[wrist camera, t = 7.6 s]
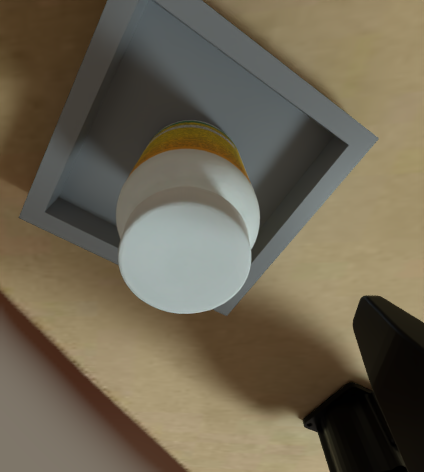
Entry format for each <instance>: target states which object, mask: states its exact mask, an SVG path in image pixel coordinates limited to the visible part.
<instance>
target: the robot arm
mask: <svg viewBox="0 0 424 472" xmlns="http://www.w3.org/2000/svg"><path fill="white" fill-rule="evenodd" d="M353 330H354V333H355V337H356V340H357V343H358V346H359V349H360V352H361V356H362V359H363V362H364V365H365V368H366V372H367V375H368V378H369V381H370V384H371V386H372V389H373V391H371V390H369V389H367V388H364V387H362V386H360V385H358V384H356V383H348V384H346V385H345V386H344V387H343V388H341V389H340V390H339V391H338V392H337V393H335V394H334V395H333V396H332V397H330V398H329V399H328V400H327V401H326V402H324V403H323V404H322V405H321V406H319V407H318V408H317V409H316V410H315V411H313V412H312V413H311V414H310V415H308V416H307V417H306V418H305V419H304V420H303V424H304V427H305V428H308V429H310V430H313V431H315V432H318V435H319V438H320V442H321V445H322V448H323V451H324V454H325V458H326V461H327V464H328V467H329V471H330V472H424V323H423V322H422V321H420V320H418V319H417V318H415V317H414V316H412V315H410V314H409V313H407V312H405V311H404V310H402V309H401V308H399V307H397V306H396V305H394V304H392V303H391V302H389V301H387V300H386V299H384V298H383V297H381V296H363V297H362V298H361V299H360V301H359V304H358V307H357V310H356V313H355V316H354V319H353Z"/></svg>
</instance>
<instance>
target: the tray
mask: <svg viewBox="0 0 424 472" xmlns="http://www.w3.org/2000/svg"><path fill="white" fill-rule="evenodd" d="M184 120H197V121H202V122H206V123H209V124H211V125H213V126H215V127H217V128H219V129H220V130H222V131H223V132H224V133H225V134H226V135H228V136H229V138H230V139H231V140H232V141H233V143H234V144H235V146H236V147H237V149H238V152H239V154H240V157H241V159H242V162H243V164H244V167H245V170H246V172H247V175H248V177H249V180H250V182H251V185H252V187H253V189H254V192H255V195H256V198H257V200H258V205H259V211H260V225H259V231H258V235H257V238H256V241H255V243H254V245H253V247H252V249H251V266H250V271H249V274H248V277H247V279H246V281H245V283H244V285H243V286H242V288H241V289H240V290H239V291H238V292H237V293H236V294H235V295H234V296H233V297H232V298H231V299H229V300H228V301H227V302H225V303H224V304H222V305H220V306H218V307H216V308H214V309H213V310H215V311H217V312H219V313H221V314H223V315H225V316H227V315H228V314H229V313H230V312H231V311H232V309H233V308H234V307H235V306H236V305H237V304H238V302H239V301H240V300H241V299H242V298H243V297H244V295H245V294H246V293H247V292H248V291H249V290H250V288H251V287H252V286H253V285H254V284H255V283H256V281H257V280H258V279H259V278H260V277H261V276H262V274H263V273H264V272H265V271H266V270H267V269H268V267H269V266H270V265H271V264H272V263H273V262H274V260H275V259H276V258H277V257H278V256H279V255H280V253H281V252H282V251H283V250H284V249H285V248H286V246H287V245H288V244H289V243H290V242H291V241H292V239H293V238H294V237H295V236H296V235H297V234H298V232H299V231H300V230H301V229H302V228H303V227H304V225H305V224H306V223H307V222H308V221H309V220H310V218H311V217H312V216H313V215H314V214H315V213H316V211H317V210H318V209H319V208H320V207H321V206H322V204H323V203H324V202H325V201H326V200H327V199H328V197H329V196H330V195H331V194H332V193H333V192H334V190H335V189H336V188H337V187H338V186H339V185H340V183H341V182H342V181H343V180H344V179H345V178H346V176H347V175H348V174H349V173H350V172H351V171H352V169H353V168H354V167H355V166H356V165H357V164H358V162H359V161H360V160H361V159H362V158H363V157H364V155H365V154H366V153H367V152H368V151H369V150H370V148H371V147H372V146H373V145H374V144H375V143H376V141H377V140H378V139H379V138H378V137H376V136H375V135H374V134H373V133H371V132H370V131H369V130H367V129H366V128H365V127H364V126H362V125H361V124H360V123H358V122H357V121H356V120H355V119H353V118H352V117H351V116H349V115H348V114H347V113H346V112H344V111H343V110H342V109H340V108H339V107H338V106H337V105H335V104H334V103H333V102H331V101H330V100H329V99H328V98H326V97H325V96H324V95H322V94H321V93H320V92H319V91H317V90H316V89H315V88H314V87H312V86H311V85H310V84H308V83H307V82H306V81H305V80H303V79H302V78H301V77H299V76H298V75H297V74H296V73H294V72H293V71H292V70H290V69H289V68H288V67H287V66H285V65H284V64H283V63H281V62H280V61H279V60H278V59H276V58H275V57H274V56H272V55H271V54H270V53H269V52H267V51H266V50H265V49H263V48H262V47H261V46H260V45H258V44H257V43H256V42H254V41H253V40H252V39H251V38H249V37H248V36H247V35H245V34H244V33H243V32H242V31H240V30H239V29H238V28H237V27H235V26H234V25H233V24H231V23H230V22H229V21H228V20H226V19H225V18H224V17H222V16H221V15H220V14H219V13H217V12H216V11H215V10H213V9H212V8H211V7H210V6H208V5H207V4H206V3H204V2H203V1H202V0H108V1H107V3H106V5H105V8H104V10H103V13H102V15H101V18H100V20H99V23H98V25H97V27H96V30H95V32H94V35H93V37H92V40H91V42H90V45H89V47H88V49H87V52H86V54H85V57H84V59H83V62H82V64H81V67H80V69H79V71H78V74H77V76H76V79H75V81H74V84H73V86H72V89H71V91H70V93H69V96H68V98H67V101H66V103H65V106H64V108H63V111H62V113H61V115H60V118H59V120H58V123H57V125H56V128H55V130H54V133H53V135H52V138H51V140H50V142H49V145H48V147H47V150H46V152H45V155H44V157H43V160H42V162H41V164H40V167H39V169H38V172H37V174H36V177H35V179H34V182H33V184H32V186H31V189H30V191H29V194H28V196H27V199H26V201H25V204H24V206H23V208H22V211H21V213H20V216H19V218H20V219H22V220H24V221H26V222H28V223H31V224H33V225H35V226H37V227H39V228H41V229H43V230H45V231H48V232H50V233H52V234H54V235H56V236H58V237H60V238H62V239H64V240H67V241H69V242H71V243H73V244H75V245H77V246H79V247H81V248H84V249H86V250H88V251H90V252H92V253H94V254H96V255H98V256H100V257H103V258H105V259H107V260H109V261H111V262H113V263H115V264H117V265H119V263H118V248H119V244H120V240H121V239H120V236H119V233H118V229H117V224H116V208H117V202H118V198H119V195H120V192H121V189H122V187H123V185H124V183H125V182H126V180H127V178H128V177H129V175H130V173H131V172H132V170H133V168H134V166H135V165H136V163H137V162H138V160H139V159H140V157H141V155H142V154H143V152H144V150H145V149H146V147H147V146H148V144H149V142H150V141H151V140H152V138H153V137H154V136H155V135H156V134H157V133H158V132H159V131H160V130H161V129H163V128H164V127H166V126H168V125H170V124H172V123H175V122H178V121H184Z"/></svg>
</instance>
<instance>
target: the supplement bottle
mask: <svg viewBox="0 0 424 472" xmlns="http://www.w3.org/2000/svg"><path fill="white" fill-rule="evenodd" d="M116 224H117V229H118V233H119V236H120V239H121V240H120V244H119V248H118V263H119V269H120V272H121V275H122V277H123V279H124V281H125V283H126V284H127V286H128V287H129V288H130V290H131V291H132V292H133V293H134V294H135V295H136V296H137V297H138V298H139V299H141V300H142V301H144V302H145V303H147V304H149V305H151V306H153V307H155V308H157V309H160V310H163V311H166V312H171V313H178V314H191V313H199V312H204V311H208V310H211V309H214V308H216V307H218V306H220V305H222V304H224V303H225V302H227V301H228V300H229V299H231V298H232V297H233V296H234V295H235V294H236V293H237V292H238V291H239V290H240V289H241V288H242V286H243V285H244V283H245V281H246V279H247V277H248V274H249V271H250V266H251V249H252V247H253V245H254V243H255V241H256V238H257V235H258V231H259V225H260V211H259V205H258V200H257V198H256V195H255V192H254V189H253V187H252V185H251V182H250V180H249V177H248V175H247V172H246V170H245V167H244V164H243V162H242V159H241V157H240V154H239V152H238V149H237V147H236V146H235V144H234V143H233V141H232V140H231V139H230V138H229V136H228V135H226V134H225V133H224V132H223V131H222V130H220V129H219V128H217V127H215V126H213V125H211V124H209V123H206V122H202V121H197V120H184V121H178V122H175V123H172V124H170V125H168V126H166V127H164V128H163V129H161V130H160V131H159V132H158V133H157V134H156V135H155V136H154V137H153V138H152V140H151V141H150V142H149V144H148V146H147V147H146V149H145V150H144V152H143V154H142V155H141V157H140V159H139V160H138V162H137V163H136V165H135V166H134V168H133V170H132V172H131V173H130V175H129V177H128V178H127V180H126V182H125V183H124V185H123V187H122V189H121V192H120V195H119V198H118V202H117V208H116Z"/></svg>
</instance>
